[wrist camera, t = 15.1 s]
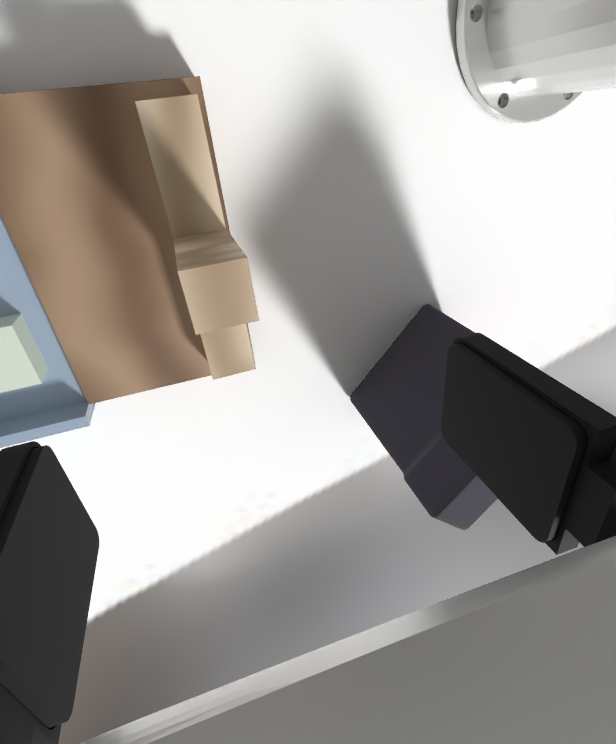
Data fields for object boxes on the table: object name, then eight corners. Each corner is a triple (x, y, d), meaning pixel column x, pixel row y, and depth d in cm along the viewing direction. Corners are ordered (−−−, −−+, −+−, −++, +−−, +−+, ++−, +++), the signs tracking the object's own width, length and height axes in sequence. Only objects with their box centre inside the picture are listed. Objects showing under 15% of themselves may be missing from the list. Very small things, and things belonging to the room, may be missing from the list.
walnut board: (196, 80, 24) (199, 76, 22) (250, 353, 33) (255, 364, 31) (-37, 101, 21) (-53, 98, 20) (92, 389, 31) (88, 404, 29)
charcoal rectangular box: (374, 412, 40) (471, 536, 28) (343, 395, 38) (432, 520, 26) (450, 322, 38) (593, 413, 25) (421, 298, 36) (562, 384, 23)
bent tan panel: (193, 98, 23) (211, 75, 15) (249, 353, 31) (279, 426, 23) (137, 104, 22) (123, 85, 14) (209, 363, 30) (226, 442, 22)
